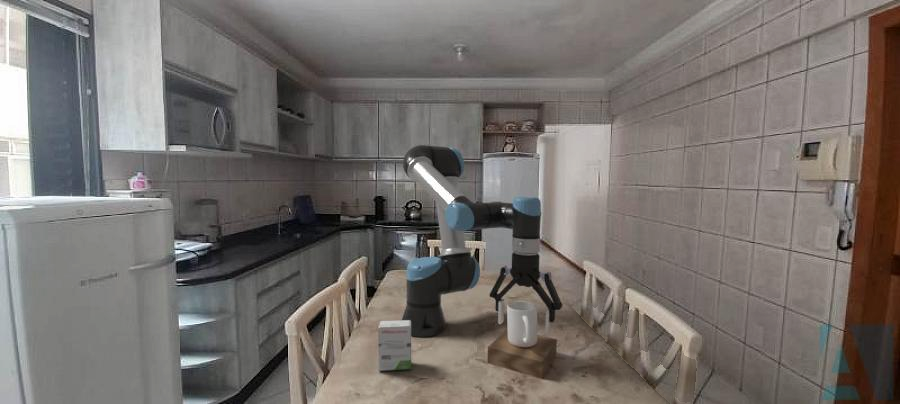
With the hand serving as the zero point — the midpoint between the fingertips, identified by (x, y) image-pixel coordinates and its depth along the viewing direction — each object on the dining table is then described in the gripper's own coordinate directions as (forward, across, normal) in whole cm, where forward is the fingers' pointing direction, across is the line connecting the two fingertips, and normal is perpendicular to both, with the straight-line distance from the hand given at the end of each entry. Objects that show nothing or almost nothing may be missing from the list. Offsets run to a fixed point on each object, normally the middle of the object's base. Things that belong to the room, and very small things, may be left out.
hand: (523, 327), depth 99 cm
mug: (+4, +1, -1) cm, 5 cm away
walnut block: (+10, 0, 0) cm, 10 cm away
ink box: (+9, -28, -22) cm, 37 cm away
